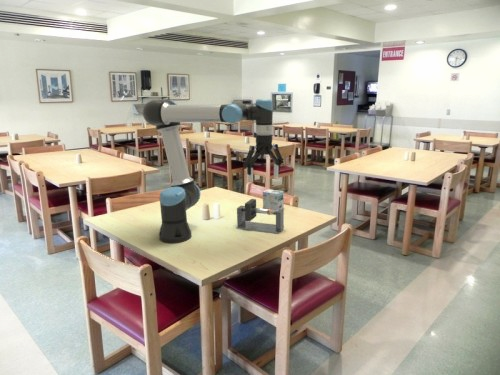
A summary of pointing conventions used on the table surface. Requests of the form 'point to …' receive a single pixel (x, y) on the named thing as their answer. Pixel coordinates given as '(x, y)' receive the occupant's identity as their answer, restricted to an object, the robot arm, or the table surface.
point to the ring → (248, 213)
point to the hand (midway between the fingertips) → (263, 180)
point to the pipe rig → (260, 226)
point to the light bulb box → (273, 199)
